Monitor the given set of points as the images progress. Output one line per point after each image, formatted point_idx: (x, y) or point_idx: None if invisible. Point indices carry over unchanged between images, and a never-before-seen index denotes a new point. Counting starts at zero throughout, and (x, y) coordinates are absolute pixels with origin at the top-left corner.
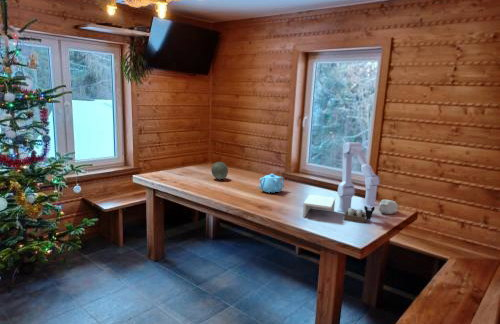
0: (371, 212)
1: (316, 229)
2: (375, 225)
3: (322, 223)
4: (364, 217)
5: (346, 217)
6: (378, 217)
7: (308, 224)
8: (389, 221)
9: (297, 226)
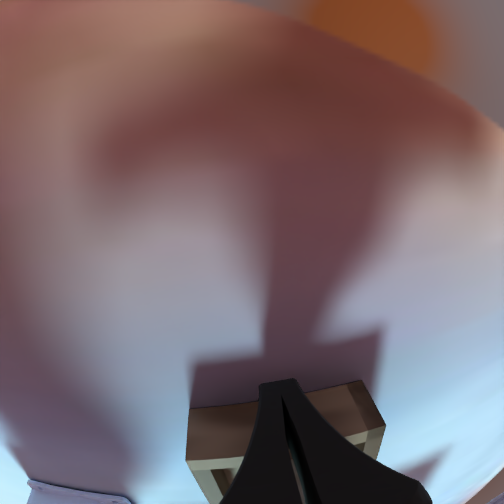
0: (368, 466)
1: (500, 461)
2: (398, 265)
3: (434, 494)
4: (364, 441)
5: None
6: (10, 281)
7: (451, 500)
8: (71, 99)
9: (471, 496)
